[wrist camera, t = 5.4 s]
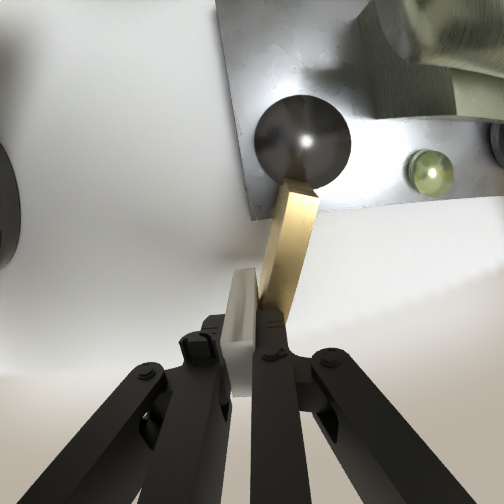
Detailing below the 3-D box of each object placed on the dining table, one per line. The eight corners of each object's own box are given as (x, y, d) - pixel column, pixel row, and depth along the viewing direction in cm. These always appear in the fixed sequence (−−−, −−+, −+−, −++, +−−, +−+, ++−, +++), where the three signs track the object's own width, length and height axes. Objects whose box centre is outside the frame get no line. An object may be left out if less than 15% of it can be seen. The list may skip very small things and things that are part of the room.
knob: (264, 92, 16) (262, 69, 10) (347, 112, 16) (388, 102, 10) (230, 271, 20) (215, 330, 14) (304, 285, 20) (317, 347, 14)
